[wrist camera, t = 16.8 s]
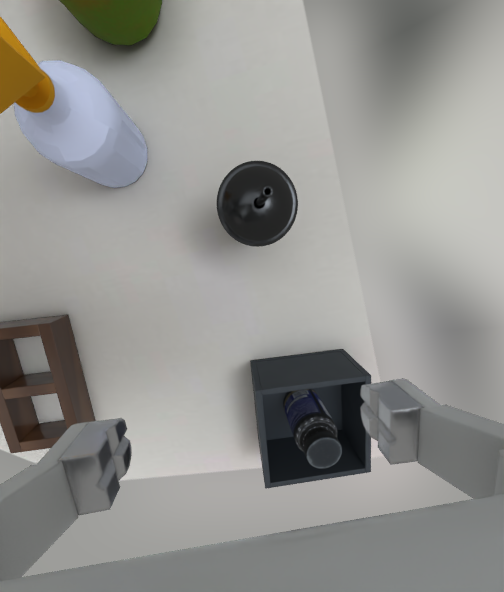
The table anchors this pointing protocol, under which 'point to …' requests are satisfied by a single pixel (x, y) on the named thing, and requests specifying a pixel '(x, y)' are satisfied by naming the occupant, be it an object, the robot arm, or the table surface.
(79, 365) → the brown wooden caddy
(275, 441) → the open square box
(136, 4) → the apple
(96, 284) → the table surface
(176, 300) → the table surface
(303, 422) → the pill bottle
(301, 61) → the table surface
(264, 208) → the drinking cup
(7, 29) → the soap bottle
